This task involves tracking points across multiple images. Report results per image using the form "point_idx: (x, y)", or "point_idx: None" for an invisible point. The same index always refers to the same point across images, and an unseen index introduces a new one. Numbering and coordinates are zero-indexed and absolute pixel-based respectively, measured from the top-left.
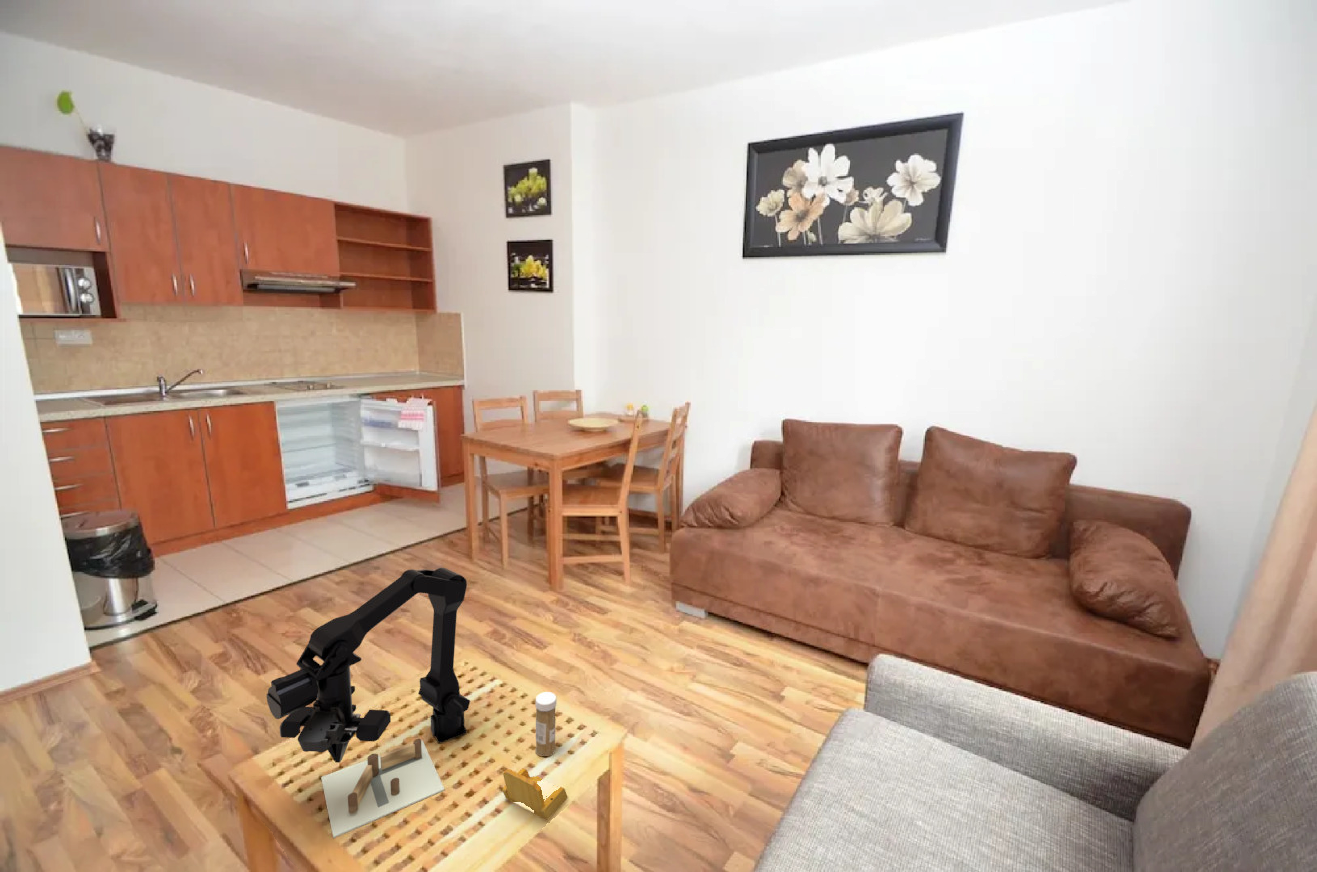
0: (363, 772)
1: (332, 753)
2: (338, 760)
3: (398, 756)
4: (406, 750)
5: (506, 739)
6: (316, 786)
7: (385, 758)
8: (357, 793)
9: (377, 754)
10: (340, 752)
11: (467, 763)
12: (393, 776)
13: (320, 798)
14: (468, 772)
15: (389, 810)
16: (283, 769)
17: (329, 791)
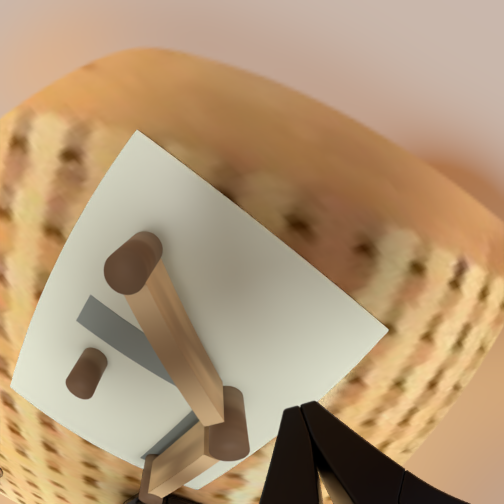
0: (204, 394)
1: (350, 460)
2: (290, 421)
3: (174, 460)
4: (160, 477)
5: (50, 488)
6: (381, 298)
7: (196, 451)
8: (129, 298)
9: (221, 460)
10: (268, 497)
11: (46, 449)
12: (156, 405)
13: (334, 263)
14: (22, 429)
15: (51, 294)
16: (484, 304)
17: (322, 296)
